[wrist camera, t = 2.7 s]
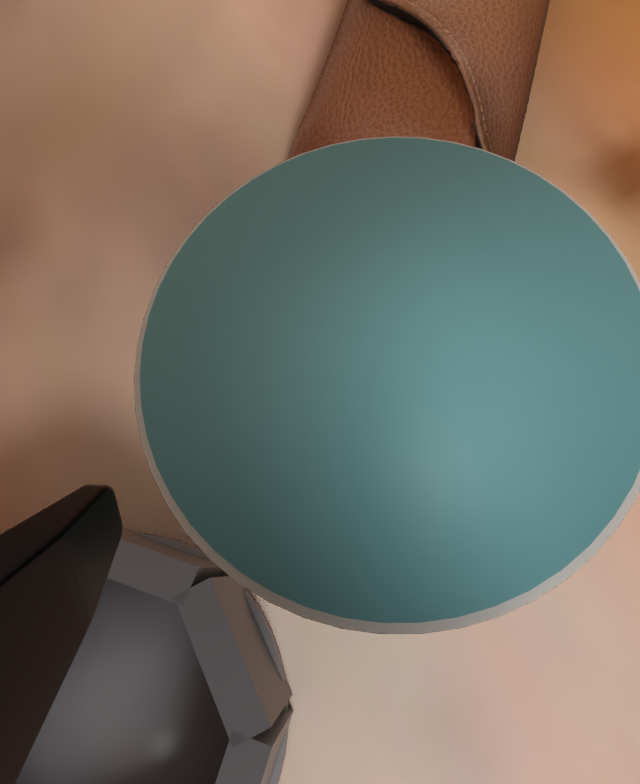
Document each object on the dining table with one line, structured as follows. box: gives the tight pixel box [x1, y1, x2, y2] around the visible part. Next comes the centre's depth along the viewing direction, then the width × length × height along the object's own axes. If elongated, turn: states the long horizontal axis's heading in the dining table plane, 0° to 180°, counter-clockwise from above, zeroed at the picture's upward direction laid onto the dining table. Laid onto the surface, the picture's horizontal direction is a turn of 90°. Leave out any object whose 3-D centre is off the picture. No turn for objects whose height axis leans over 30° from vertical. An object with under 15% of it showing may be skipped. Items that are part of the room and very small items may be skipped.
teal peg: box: [134, 137, 640, 634], centre depth 12 cm, size 5×5×13 cm
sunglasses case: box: [289, 0, 550, 161], centre depth 22 cm, size 18×7×7 cm, turn 166°
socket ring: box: [15, 529, 293, 784], centre depth 15 cm, size 10×10×4 cm
